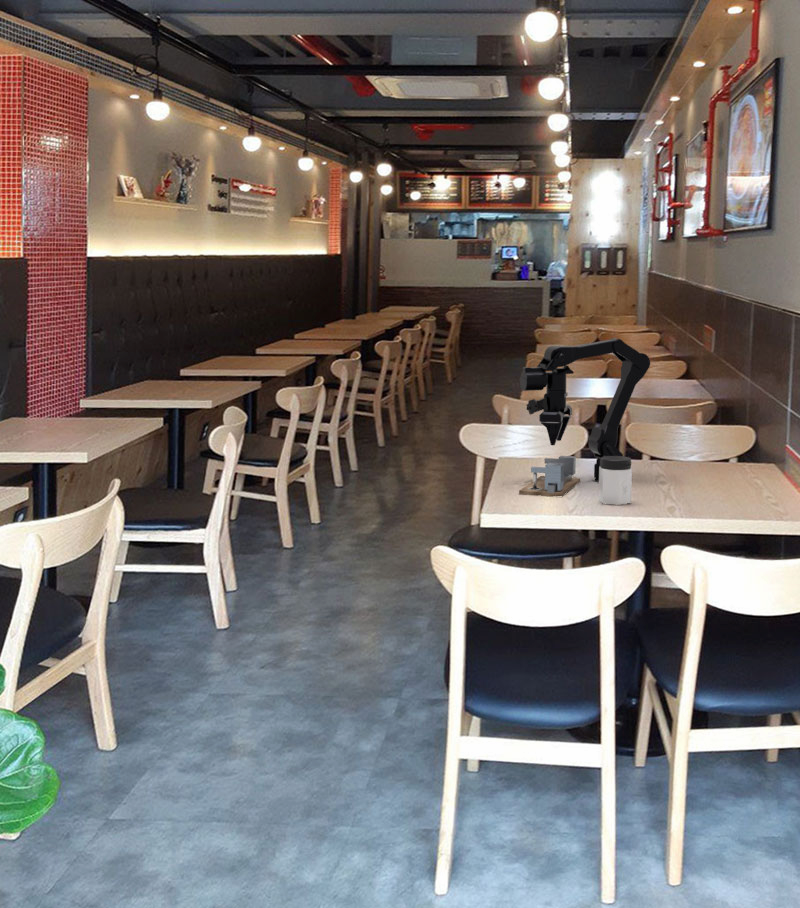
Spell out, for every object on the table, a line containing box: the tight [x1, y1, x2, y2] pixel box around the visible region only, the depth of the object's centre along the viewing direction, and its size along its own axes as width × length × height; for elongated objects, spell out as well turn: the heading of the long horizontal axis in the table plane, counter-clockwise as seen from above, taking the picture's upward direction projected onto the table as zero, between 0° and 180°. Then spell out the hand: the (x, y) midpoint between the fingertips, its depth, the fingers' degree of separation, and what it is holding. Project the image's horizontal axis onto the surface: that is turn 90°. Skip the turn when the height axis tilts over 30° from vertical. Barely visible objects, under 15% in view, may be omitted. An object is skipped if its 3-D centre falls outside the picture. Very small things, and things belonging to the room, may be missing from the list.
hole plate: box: [518, 475, 581, 497], centre depth 333 cm, size 12×25×1 cm, turn 159°
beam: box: [544, 455, 577, 493], centre depth 331 cm, size 9×22×7 cm, turn 159°
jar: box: [597, 455, 633, 506], centre depth 312 cm, size 9×8×12 cm
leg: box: [530, 463, 564, 491], centre depth 325 cm, size 9×4×7 cm, turn 69°
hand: (555, 442), depth 339 cm, fingers open, 9 cm apart
